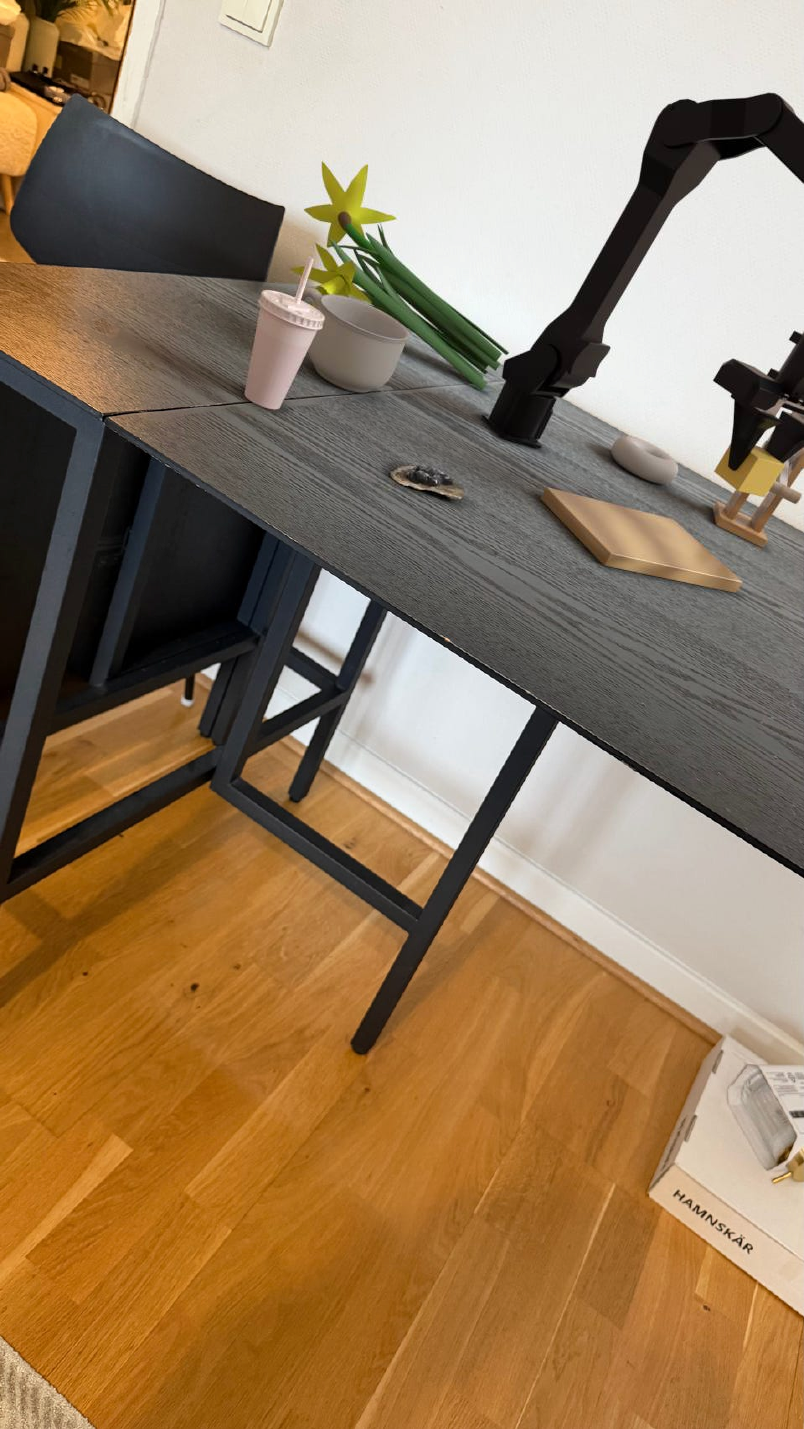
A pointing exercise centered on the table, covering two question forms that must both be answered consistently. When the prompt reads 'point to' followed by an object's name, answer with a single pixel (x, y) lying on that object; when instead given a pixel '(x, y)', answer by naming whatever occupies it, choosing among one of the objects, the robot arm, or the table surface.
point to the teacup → (355, 342)
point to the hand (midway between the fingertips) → (745, 473)
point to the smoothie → (280, 343)
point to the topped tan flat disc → (428, 480)
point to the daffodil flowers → (393, 282)
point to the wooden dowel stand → (753, 527)
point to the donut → (644, 460)
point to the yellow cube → (751, 472)
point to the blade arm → (785, 484)
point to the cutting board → (639, 541)
